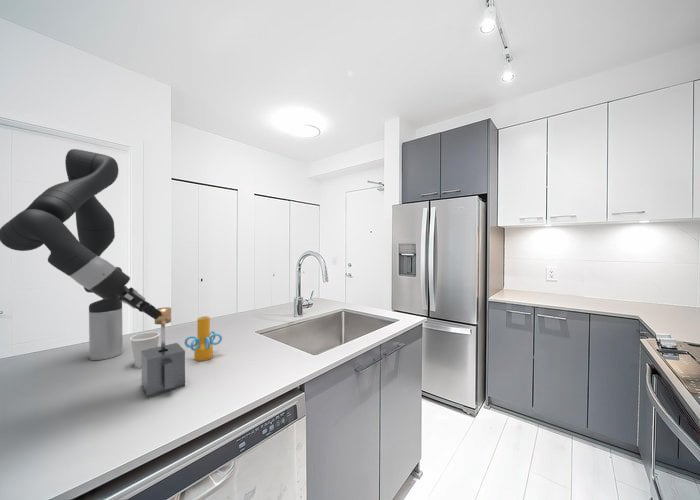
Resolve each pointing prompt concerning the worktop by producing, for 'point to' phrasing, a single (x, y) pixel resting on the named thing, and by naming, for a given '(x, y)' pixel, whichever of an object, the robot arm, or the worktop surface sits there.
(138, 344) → the dixie cup
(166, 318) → the plunger
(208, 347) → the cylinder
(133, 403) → the worktop surface
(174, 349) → the frame
